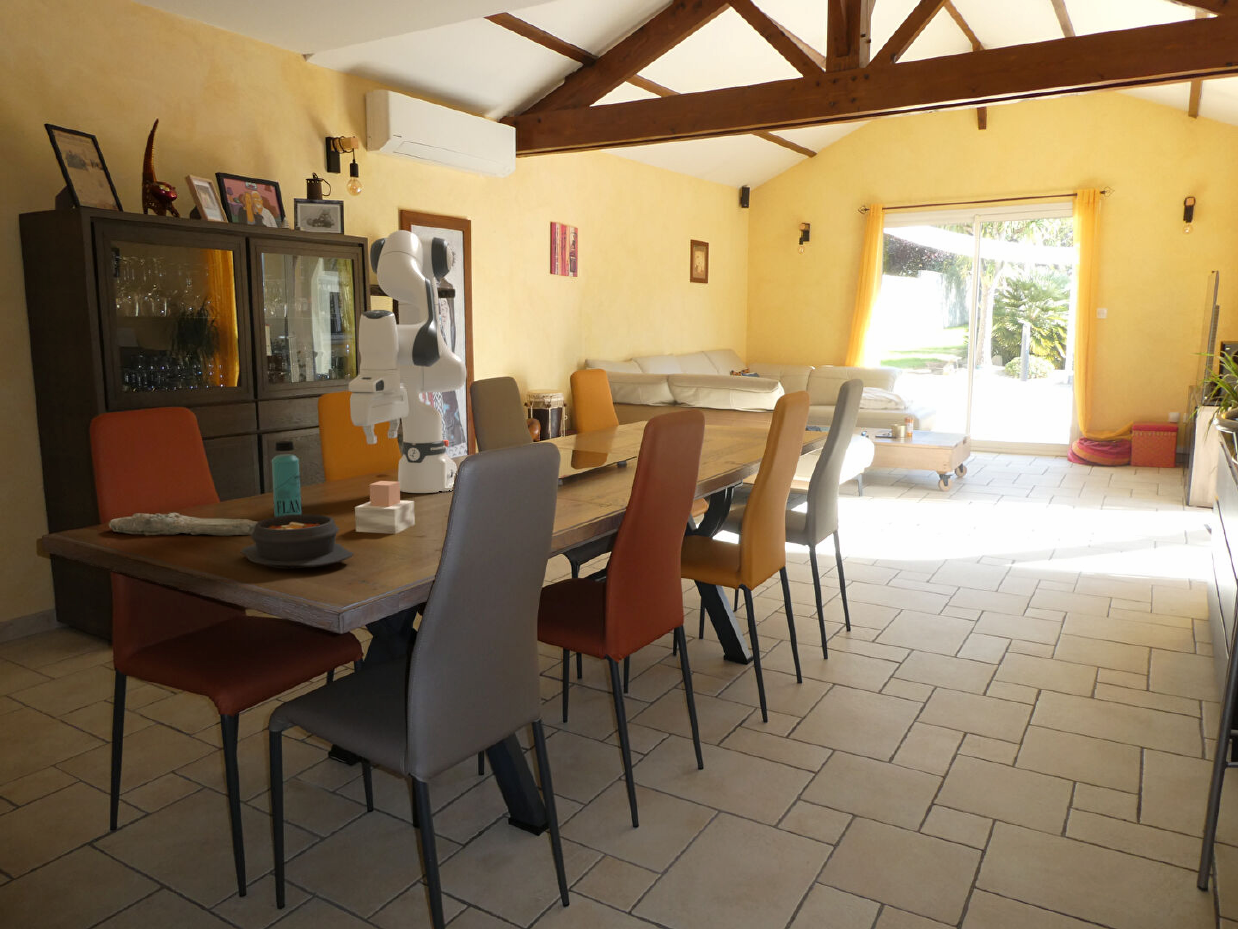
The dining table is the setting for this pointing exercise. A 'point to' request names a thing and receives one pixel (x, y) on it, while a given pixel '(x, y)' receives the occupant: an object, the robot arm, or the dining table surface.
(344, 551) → the casserole
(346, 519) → the dining table surface
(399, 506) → the base block
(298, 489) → the beverage bottle
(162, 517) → the long grey stone
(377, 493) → the terracotta block
